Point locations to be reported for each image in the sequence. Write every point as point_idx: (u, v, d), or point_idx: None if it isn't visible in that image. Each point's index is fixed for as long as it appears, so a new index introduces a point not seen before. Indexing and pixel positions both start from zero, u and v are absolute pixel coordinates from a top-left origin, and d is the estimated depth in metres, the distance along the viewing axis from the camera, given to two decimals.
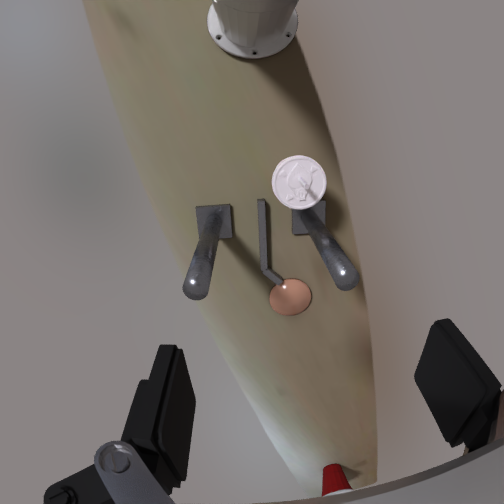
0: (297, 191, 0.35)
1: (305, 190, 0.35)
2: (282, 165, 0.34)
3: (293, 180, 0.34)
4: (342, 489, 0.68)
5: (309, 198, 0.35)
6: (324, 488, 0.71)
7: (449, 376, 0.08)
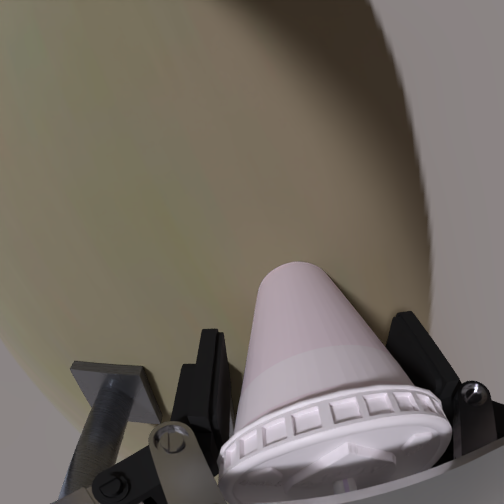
0: None
1: None
2: (262, 460, 0.05)
3: (313, 489, 0.06)
4: None
5: None
6: None
7: (408, 368, 0.09)
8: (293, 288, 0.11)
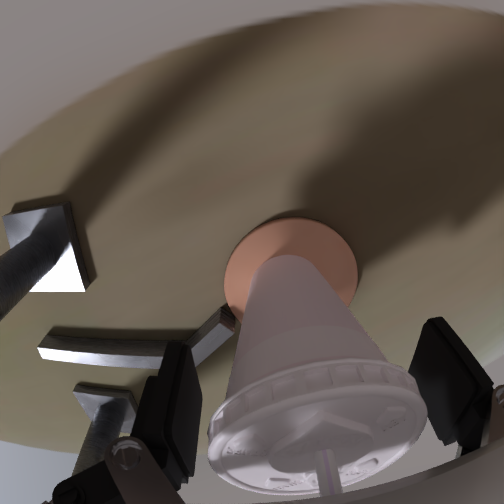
0: (307, 476, 0.07)
1: (339, 470, 0.07)
2: (244, 424, 0.06)
3: (295, 460, 0.07)
4: None
5: (349, 474, 0.08)
6: None
7: (441, 374, 0.08)
8: (281, 278, 0.12)
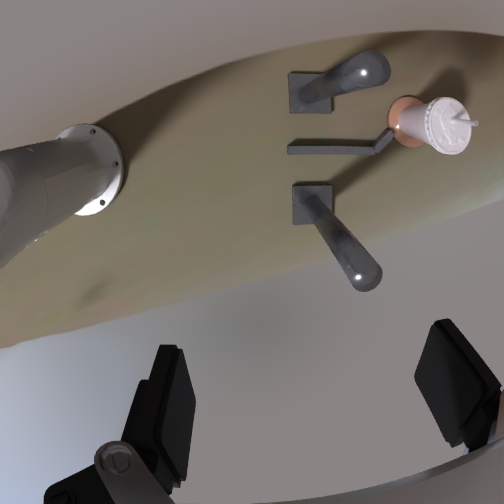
0: (450, 133, 0.25)
1: (456, 134, 0.25)
2: (437, 103, 0.24)
3: (447, 121, 0.25)
4: None
5: (458, 144, 0.26)
6: None
7: (449, 376, 0.08)
8: (416, 106, 0.31)
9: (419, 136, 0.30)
